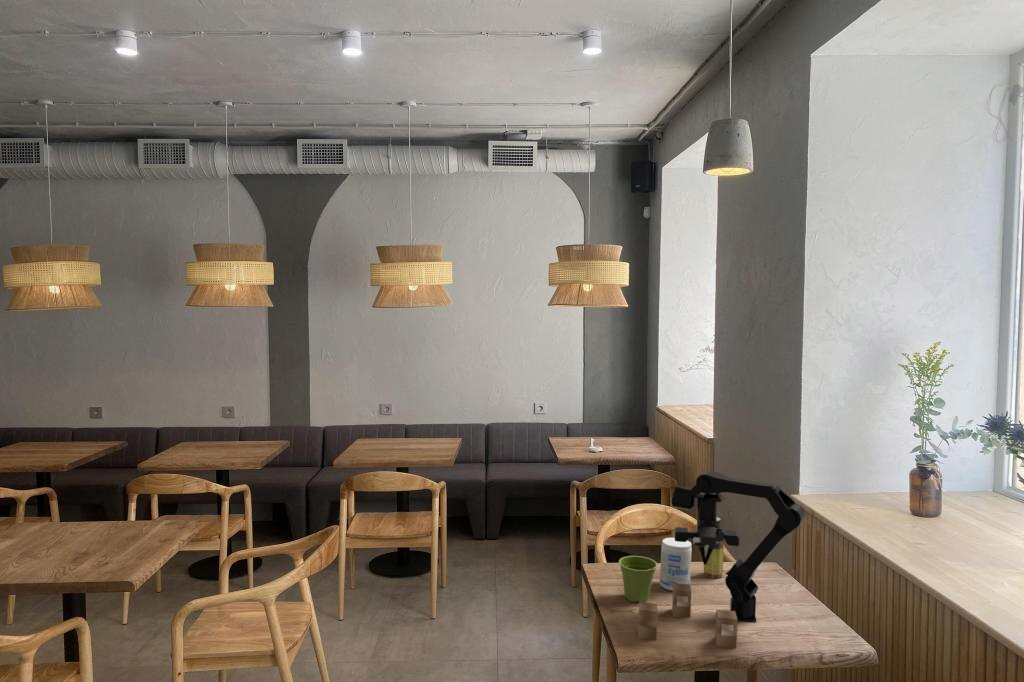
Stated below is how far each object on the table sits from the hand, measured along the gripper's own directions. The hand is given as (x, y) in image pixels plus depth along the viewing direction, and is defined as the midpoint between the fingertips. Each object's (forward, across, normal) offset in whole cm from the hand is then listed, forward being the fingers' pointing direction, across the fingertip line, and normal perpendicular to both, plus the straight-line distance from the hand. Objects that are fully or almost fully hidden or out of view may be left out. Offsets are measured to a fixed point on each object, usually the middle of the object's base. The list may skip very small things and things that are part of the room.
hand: (704, 564), depth 219 cm
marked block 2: (+13, +4, -23) cm, 27 cm away
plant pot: (+13, -20, +1) cm, 24 cm away
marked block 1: (+13, -7, -7) cm, 16 cm away
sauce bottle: (+13, +5, +25) cm, 29 cm away
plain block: (+13, -17, -23) cm, 31 cm away
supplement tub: (+13, -8, +13) cm, 20 cm away
